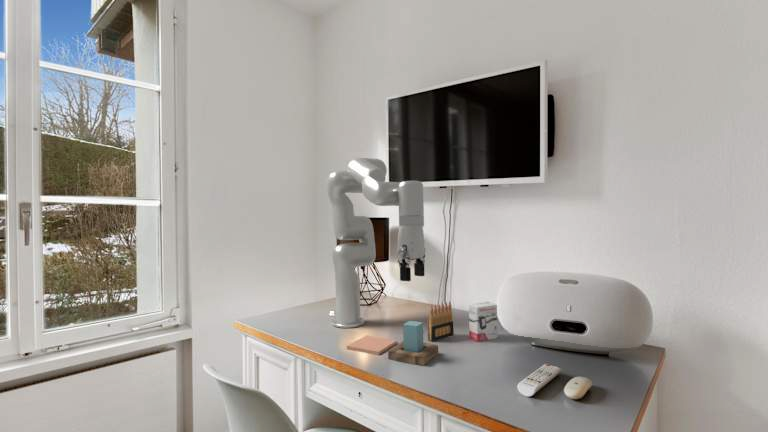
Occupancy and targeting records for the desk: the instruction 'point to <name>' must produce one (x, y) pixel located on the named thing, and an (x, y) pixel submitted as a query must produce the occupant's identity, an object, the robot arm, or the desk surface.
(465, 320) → the desk surface
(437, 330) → the ammunition clip
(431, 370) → the desk surface
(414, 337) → the teal block
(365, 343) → the tile
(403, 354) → the holder
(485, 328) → the ink box
